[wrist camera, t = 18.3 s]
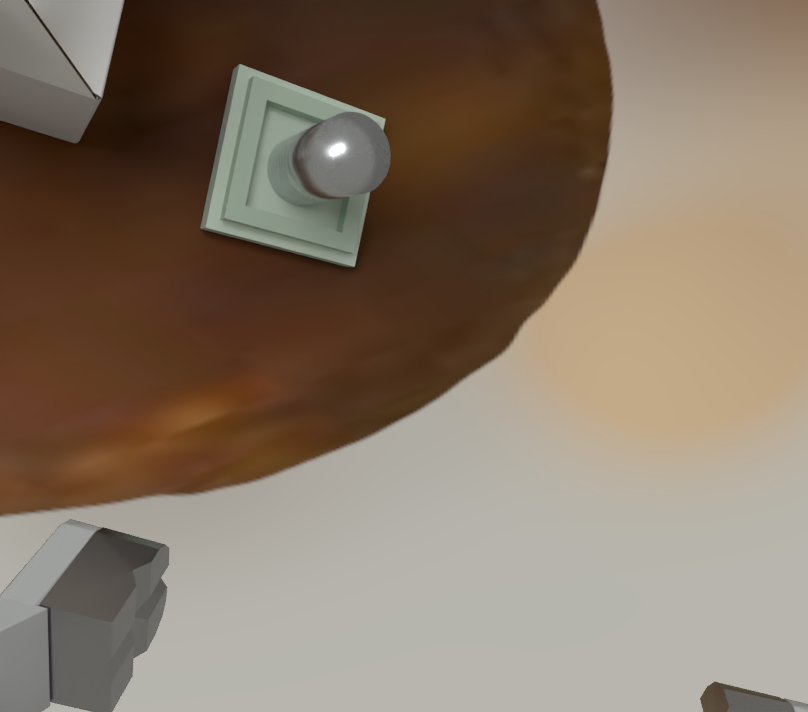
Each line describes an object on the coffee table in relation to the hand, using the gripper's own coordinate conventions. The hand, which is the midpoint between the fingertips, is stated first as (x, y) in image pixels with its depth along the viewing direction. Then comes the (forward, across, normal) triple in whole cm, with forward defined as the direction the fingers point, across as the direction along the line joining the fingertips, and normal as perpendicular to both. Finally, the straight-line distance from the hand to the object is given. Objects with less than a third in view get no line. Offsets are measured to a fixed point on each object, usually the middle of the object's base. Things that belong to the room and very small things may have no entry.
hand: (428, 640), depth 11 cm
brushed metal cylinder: (+56, -16, -9) cm, 59 cm away
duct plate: (+58, -17, -10) cm, 61 cm away
